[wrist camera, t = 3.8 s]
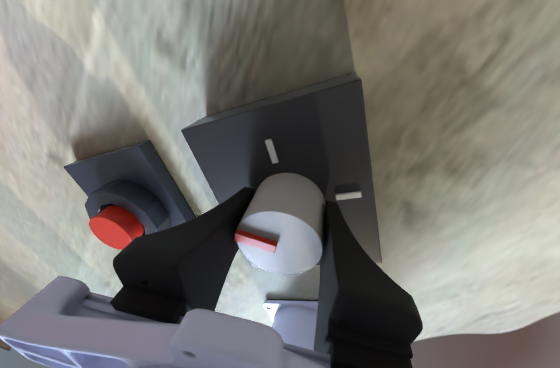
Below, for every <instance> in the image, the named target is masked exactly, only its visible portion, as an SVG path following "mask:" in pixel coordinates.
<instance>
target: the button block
mask: <svg viewBox="0 0 560 368" xmlns="http://www.w3.org/2000/svg"><path fill="white" fill-rule="evenodd" d="M64 168H65V169H66V171H67V172H68V173H69V174H70V175H71V177H72V178H73V179H74V180H75V181H76V183H77V184H78V185H79V186H80V187H81V188H82V190H83V191H84V192H85V193H86V194H87V196H88V199H87V201H86V203H85V207H86V210H87V212H88V215H89V218H90V219H91V218H92V217H94V216H95V215H97V214H98V213H99V212H101V211H102V210H104V209H105V208H106V207H108V206H110V205H117V206H120V207H124V208H125V209H127V210H128V211H129V212H131V213H132V214H134V215H135V216H136V217H137V218H138V219H139V221H140V222H141V223H142V225H143V226H144V233H143V235H147V234H151V233H155V232H158V231H162V230H165V229H168V228H171V227H174V226H177V225H180V224H182V223H184V222H187V221H189V220H192V219H194V218H196V217H195V215H194V214H193V212H192V210H191V209H190V207H189V205H188V204H187V202H186V200H185V199H184V197H183V195H182V194H181V192H180V190H179V189H178V187H177V185H176V184H175V182H174V180H173V179H172V177H171V175H170V174H169V172H168V170H167V169H166V167H165V165H164V164H163V162H162V160H161V159H160V157H159V155H158V154H157V152H156V150H155V149H154V147H153V145H152V144H151V142H150V141H146V142H142V143H138V144H135V145H131V146H128V147H124V148H121V149H117V150H114V151H110V152H107V153H103V154H100V155H96V156H93V157H89V158H85V159H82V160H78V161H75V162H73V163H71V164H69V165H66V166H64ZM143 235H142V236H143Z"/></svg>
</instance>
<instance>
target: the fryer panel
mask: <svg viewBox="0 0 560 368" xmlns="http://www.w3.org/2000/svg"><path fill="white" fill-rule="evenodd" d="M181 131H182V133H183V135H184V137H185V139H186V141H187V143H188V145H189V147H190V149H191V151H192V152H193V154H194V156H195V158H196V160H197V162H198V164H199V166H200V168H201V170H202V172H203V174H204V176H205V178H206V179H207V181H208V183H209V185H210V187H211V189H212V191H213V193H214V195H215V197H216V199H217V201H218V203H219V204H221V203H223V202H224V201H226V200H227V199H228V198H230V197H231V196H233V195H234V194H235V193H237V192H238V191H240V190H241V189H242V188H244V187H249V188H254V195H255V193H256V191H257V189H258V187H259V185H260V184H261V183H262V182H263V181H264V180H265V179H266V178H268V177H270V176H272V175H275V174H278V173H294V174H299V175H301V176H304V177H306V178H308V179H309V180H311V181H312V182H313V183H315V184H316V185H317V187H318V188H319V189H320V191H321V192H322V194H323V197H324V201H325V205H326V201H332V202H337V203H338V205H339V207H340V210H341V212H342V214H343V216H344V219H345V220H346V222H347V224H348V226H349V228H350V230H351V231H352V233H353V235H354V236H355V238H356V239H357V241H358V242H359V244H360V245H361V246H362V248H363V249H364V250H365V252H366V253H367V254H368V255H369V257H370V258H371V259H372V260H373V261H374V262H375V263H382V259H381V250H380V241H379V232H378V223H377V214H376V206H375V197H374V188H373V179H372V170H371V161H370V152H369V143H368V134H367V125H366V116H365V107H364V98H363V90H362V81H361V79H360V78H359V77H358V75H357V74H356V73H351V74H347V75H344V76H341V77H337V78H334V79H331V80H327V81H324V82H320V83H317V84H314V85H310V86H307V87H304V88H300V89H297V90H294V91H290V92H287V93H283V94H280V95H277V96H273V97H270V98H267V99H263V100H260V101H256V102H253V103H250V104H246V105H243V106H240V107H236V108H233V109H230V110H226V111H223V112H219V113H216V114H213V115H209V116H206V117H204V118H202V119H200V120H198V121H197V122H195V123H193V124H191V125H189V126H188V127H186V128H184V129H182V130H181ZM249 262H250V264H251V266H252V267H258V266H257V265H255V264H254V263H252V262H251V261H250V260H249ZM316 265H320V260H319V262H318V263H317V264H316Z"/></svg>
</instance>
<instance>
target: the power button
mask: <svg viewBox="0 0 560 368" xmlns="http://www.w3.org/2000/svg"><path fill="white" fill-rule="evenodd" d="M89 226H90V228H91V230H92V232H93V233H94V235H95V236H96V237H97V238H98V239H99V240H101V241H102V242H103V243H105V244H107V245H108V246H111V247H113V248H116V249H121V250H123V249H124V248H125V247H126V246H127V245H128V244H129V243H130V242H131V241H132V240H133V239H134V238H136V237H139V236H142V235H143V233H144V226H143V225H142V223H141V222H140V221H139V219H138V218H137V217H136V216H135V215H134V214H132V213H131V212H129V211H128V210H127V209H125V208H124V207H120V206H117V205H110V206H108V207H106V208H105V209H104V210H102V211H101V212H99V213H98V214H97V215H95V216H94V217H92V218H91V219H90V221H89Z"/></svg>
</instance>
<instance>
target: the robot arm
mask: <svg viewBox="0 0 560 368" xmlns="http://www.w3.org/2000/svg"><path fill="white" fill-rule="evenodd" d="M253 196H254V188H249V187H244V188H242V189H241V190H240V191H238V192H237V193H235V194H234V195H233V196H231V197H230V198H228V199H227V200H226V201H224V202H223V203H221V204H219V205H218V206H216V207H215V208H213V209H211V210H210V211H208V212H206V213H204V214H202V215H200V216H198V217H196V218H194V219H192V220H189V221H187V222H184V223H182V224H180V225H177V226H174V227H171V228H168V229H165V230H162V231H158V232H155V233H151V234H147V235H143V236H139V237H136V238H134V239H133V240H132V241H131V242H130V243H129V244H128V245H127V246H126V247H125V248H124V249H123V250H122V251H121V252H120V253H119V254H118V255H117V256H116V257H115V258H114V260H113V267H114V269H115V272H116V273H117V275H118V277H119V279H120V281H121V283H122V284H123V286H124V287H123V288H122V289H121V290H120V291H119V292H118V293H117V295H116V296H115V297H114V298H111V297H107V296H103V295H99V294H96V293H92V292H90V290H89V288H88V286H87V285H86V284H85V283H83V282H82V281H79V280H76V279H72V278H68V277H64V276H58V277H57V278H56V279H55V280H53V281H52V282H51V283H50V284H49V285H47V286H46V287H45V288H44V289H43V290H41V291H40V292H39V293H38V294H37V295H35V296H34V297H33V298H32V299H31V300H29V301H28V302H27V303H26V304H25V305H23V306H22V307H21V308H20V309H19V310H17V311H16V312H15V313H14V314H13V315H11V316H10V317H9V318H8V319H7V320H6V321H4V322H3V323H2V324H1V325H0V339H1V340H3V341H4V342H6V343H7V344H8V345H10V346H11V347H12V348H14V349H15V350H17V351H18V352H19V353H21V354H22V355H23V356H25V357H26V358H27V359H29V360H31V361H35V362H37V363H40V364H43V365H46V366H49V367H52V368H412V364H411V360H410V358H412V357H413V354H412V350H411V346H410V345H411V343H412V342H413V341H414V340H415V339H416V338H417V336H418V335H419V334H420V333H421V331H422V329H423V326H422V321H421V318H420V315H419V312H418V309H417V307H416V305H415V303H414V300H413V298H412V296H411V295H410V294H408V293H407V292H406V291H405V290H404V289H402V288H401V287H400V286H399V285H398V284H396V283H395V282H394V281H393V280H392V279H391V278H390V277H389V276H388V275H387V274H385V273H384V272H383V271H382V270H381V269H380V268H379V267H378V265H377V264H376V263H375V262H374V261H373V260H372V259H371V258H370V257H369V255H368V254H367V253H366V252H365V250H364V249H363V248H362V246H361V245H360V244H359V242H358V241H357V239H356V238H355V236H354V235H353V233H352V231H351V230H350V228H349V226H348V224H347V222H346V220H345V219H344V216H343V214H342V212H341V210H340V207H339V205H338V203H337V202H332V201H326V205H325V212H324V235H323V252H322V256H321V259H320V285H319V297H318V301H283V300H265V301H264V303H263V305H264V307H265V309H266V311H267V313H268V315H269V316H270V318H271V320H272V322H273V324H272V327H269V326H267V325H264V324H262V323H259V322H255V321H251V320H247V319H243V318H239V317H235V316H231V315H227V314H223V313H219V312H215V311H214V310H215V307H216V305H217V302H218V299H219V296H220V293H221V290H222V287H223V285H224V282H225V279H226V276H227V274H228V271H229V269H230V266H231V264H232V261H233V259H234V257H235V255H236V253H237V251H238V249H239V247H238V244H237V241H234V237H235V232H236V230H237V227H238V225H239V223H240V221H241V219H242V217H243V215H244V214H245V212H246V210H247V208H248V206H249V204H250V202H251V200H252V198H253Z"/></svg>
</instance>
